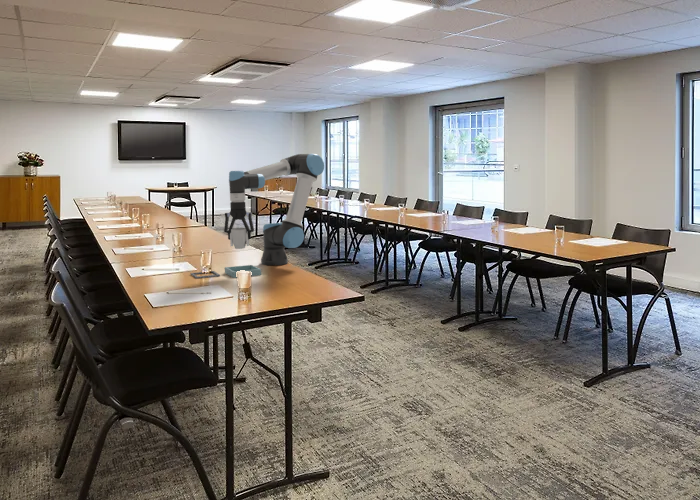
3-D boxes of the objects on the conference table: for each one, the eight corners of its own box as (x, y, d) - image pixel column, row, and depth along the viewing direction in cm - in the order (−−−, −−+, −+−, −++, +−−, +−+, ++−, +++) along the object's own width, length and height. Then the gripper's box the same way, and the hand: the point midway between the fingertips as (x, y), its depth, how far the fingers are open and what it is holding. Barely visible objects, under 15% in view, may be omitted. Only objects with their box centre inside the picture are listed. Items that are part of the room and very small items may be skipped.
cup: (249, 248, 299) (249, 229, 297) (234, 249, 295) (233, 230, 293) (245, 246, 306) (244, 227, 304) (229, 247, 302) (228, 228, 300)
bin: (251, 270, 312) (251, 264, 312) (261, 274, 299) (261, 269, 299) (224, 273, 305) (224, 267, 305) (233, 277, 292) (233, 271, 292)
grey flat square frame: (213, 272, 307) (213, 270, 307) (220, 276, 297) (220, 274, 296) (190, 274, 301) (190, 273, 301) (196, 278, 291) (196, 277, 291)
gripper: (215, 202, 293) (218, 247, 297) (256, 201, 292) (258, 246, 296) (219, 201, 301) (222, 244, 304) (259, 200, 300) (261, 244, 303)
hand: (239, 245), depth 300 cm, fingers closed on cup, 8 cm apart
